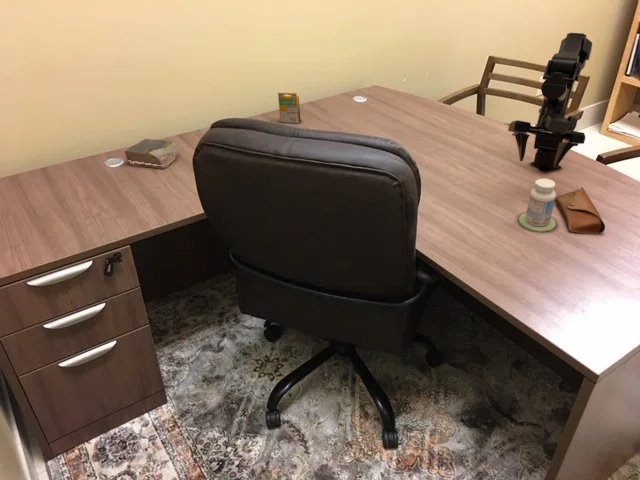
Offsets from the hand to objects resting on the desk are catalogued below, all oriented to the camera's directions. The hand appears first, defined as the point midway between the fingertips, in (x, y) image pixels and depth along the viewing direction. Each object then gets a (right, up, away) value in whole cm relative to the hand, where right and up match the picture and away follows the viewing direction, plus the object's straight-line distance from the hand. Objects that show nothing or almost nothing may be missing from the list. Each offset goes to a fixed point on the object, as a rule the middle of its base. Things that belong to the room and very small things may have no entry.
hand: (538, 164), depth 144 cm
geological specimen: (-115, +7, +38) cm, 121 cm away
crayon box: (-70, +25, +61) cm, 96 cm away
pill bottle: (-2, -15, -4) cm, 16 cm away
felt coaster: (-2, -16, -4) cm, 16 cm away
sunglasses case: (+9, -14, -2) cm, 17 cm away
